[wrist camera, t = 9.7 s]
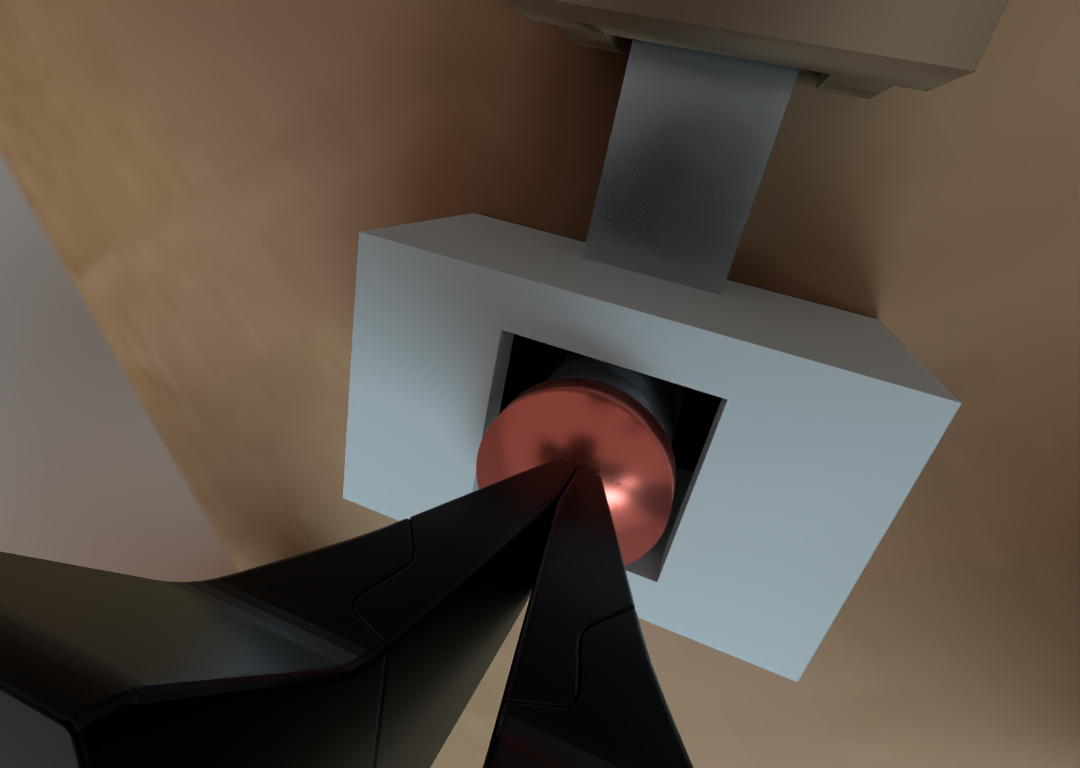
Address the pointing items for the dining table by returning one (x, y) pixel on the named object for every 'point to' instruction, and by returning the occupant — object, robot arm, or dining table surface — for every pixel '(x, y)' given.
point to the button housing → (669, 354)
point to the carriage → (797, 34)
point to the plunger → (596, 441)
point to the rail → (685, 162)
